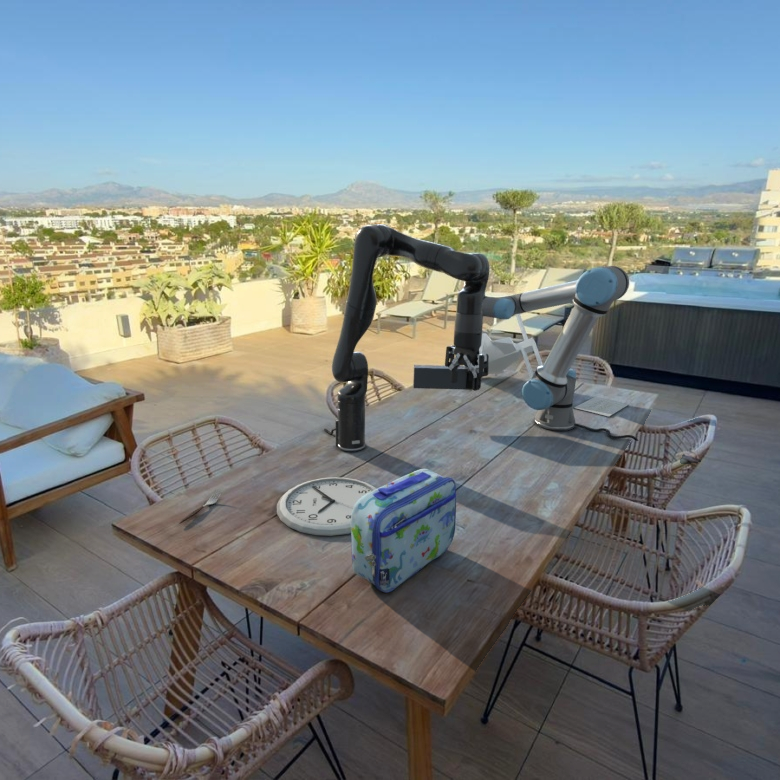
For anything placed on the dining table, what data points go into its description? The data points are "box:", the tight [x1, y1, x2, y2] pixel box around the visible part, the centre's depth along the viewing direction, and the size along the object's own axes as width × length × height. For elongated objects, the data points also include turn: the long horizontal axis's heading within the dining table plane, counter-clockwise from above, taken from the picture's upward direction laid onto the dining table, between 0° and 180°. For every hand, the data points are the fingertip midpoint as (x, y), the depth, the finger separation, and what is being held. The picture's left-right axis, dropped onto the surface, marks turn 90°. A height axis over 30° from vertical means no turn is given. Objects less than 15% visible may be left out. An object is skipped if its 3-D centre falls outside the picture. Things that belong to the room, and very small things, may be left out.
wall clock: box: [276, 476, 378, 537], centre depth 142 cm, size 30×2×30 cm
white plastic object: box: [475, 313, 544, 380], centre depth 260 cm, size 37×45×31 cm
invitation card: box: [573, 396, 629, 418], centre depth 226 cm, size 21×1×15 cm
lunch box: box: [350, 468, 457, 593], centre depth 114 cm, size 26×11×21 cm, turn 134°
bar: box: [412, 364, 478, 391], centre depth 211 cm, size 26×5×9 cm, turn 89°
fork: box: [178, 489, 223, 525], centre depth 139 cm, size 3×16×2 cm, turn 160°
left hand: (464, 386), depth 147 cm, fingers open, 8 cm apart
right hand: (468, 386), depth 212 cm, fingers closed on bar, 5 cm apart
